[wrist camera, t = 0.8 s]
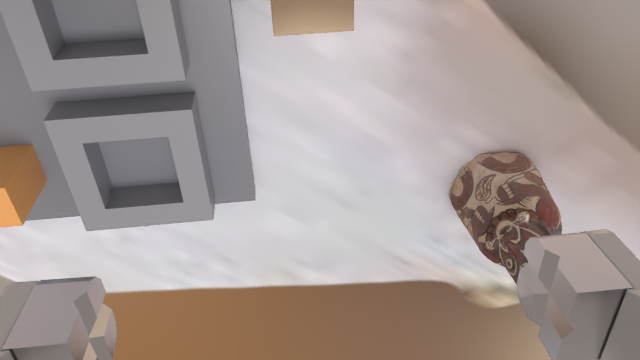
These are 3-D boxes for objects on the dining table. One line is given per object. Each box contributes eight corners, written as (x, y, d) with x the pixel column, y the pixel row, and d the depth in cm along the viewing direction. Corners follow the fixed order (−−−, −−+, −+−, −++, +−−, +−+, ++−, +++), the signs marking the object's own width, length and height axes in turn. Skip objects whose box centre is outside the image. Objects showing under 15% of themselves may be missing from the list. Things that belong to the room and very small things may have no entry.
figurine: (504, 133, 41) (584, 237, 31) (550, 181, 44) (634, 289, 34) (433, 189, 43) (485, 302, 33) (481, 231, 46) (541, 344, 37)
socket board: (-146, -91, 28) (-230, -69, 23) (215, -110, 29) (208, -92, 24) (6, 214, 40) (-28, 270, 35) (255, 192, 41) (255, 244, 36)
